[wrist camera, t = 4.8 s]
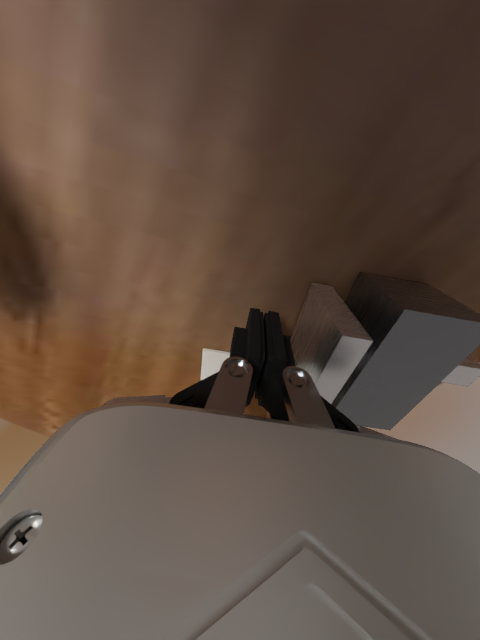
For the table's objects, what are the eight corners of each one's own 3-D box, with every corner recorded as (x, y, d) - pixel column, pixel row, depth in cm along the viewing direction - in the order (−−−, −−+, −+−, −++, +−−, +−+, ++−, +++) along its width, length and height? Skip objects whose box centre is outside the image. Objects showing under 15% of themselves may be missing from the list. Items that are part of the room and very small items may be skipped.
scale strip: (203, 347, 16) (202, 349, 15) (325, 367, 16) (326, 369, 16) (201, 378, 17) (200, 380, 17) (310, 395, 18) (311, 397, 18)
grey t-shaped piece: (312, 282, 12) (342, 335, 8) (479, 311, 12) (594, 377, 8) (272, 385, 17) (278, 451, 13) (392, 404, 17) (435, 473, 13)
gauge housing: (360, 271, 12) (405, 309, 8) (427, 283, 12) (499, 325, 8) (311, 369, 16) (326, 420, 13) (360, 377, 16) (389, 430, 13)
